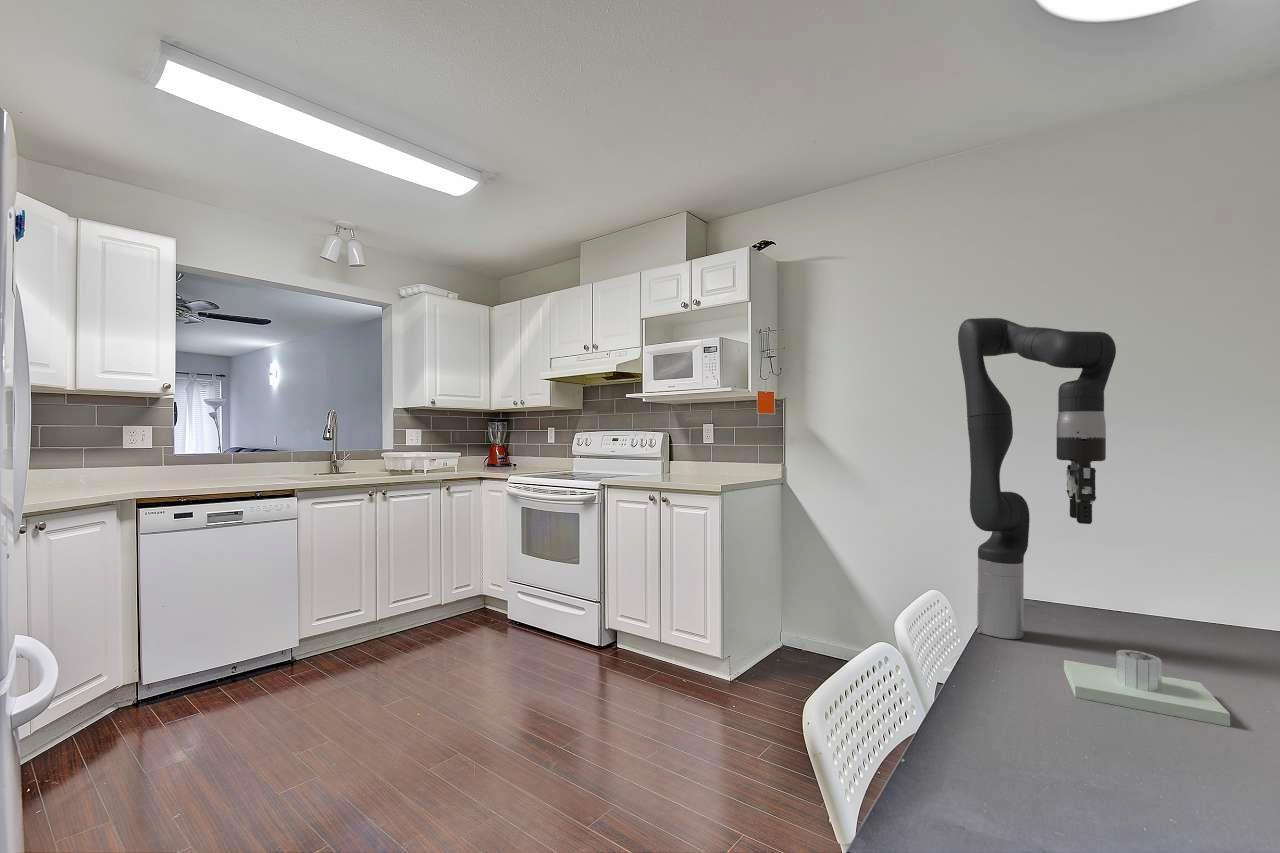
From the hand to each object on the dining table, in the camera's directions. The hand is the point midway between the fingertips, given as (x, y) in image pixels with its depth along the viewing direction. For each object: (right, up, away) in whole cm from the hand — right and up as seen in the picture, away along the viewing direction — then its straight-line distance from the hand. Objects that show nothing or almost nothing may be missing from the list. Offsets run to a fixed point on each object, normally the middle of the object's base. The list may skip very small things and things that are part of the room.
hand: (1080, 520), depth 111 cm
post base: (+5, -30, -7) cm, 31 cm away
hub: (+5, -28, -7) cm, 29 cm away
